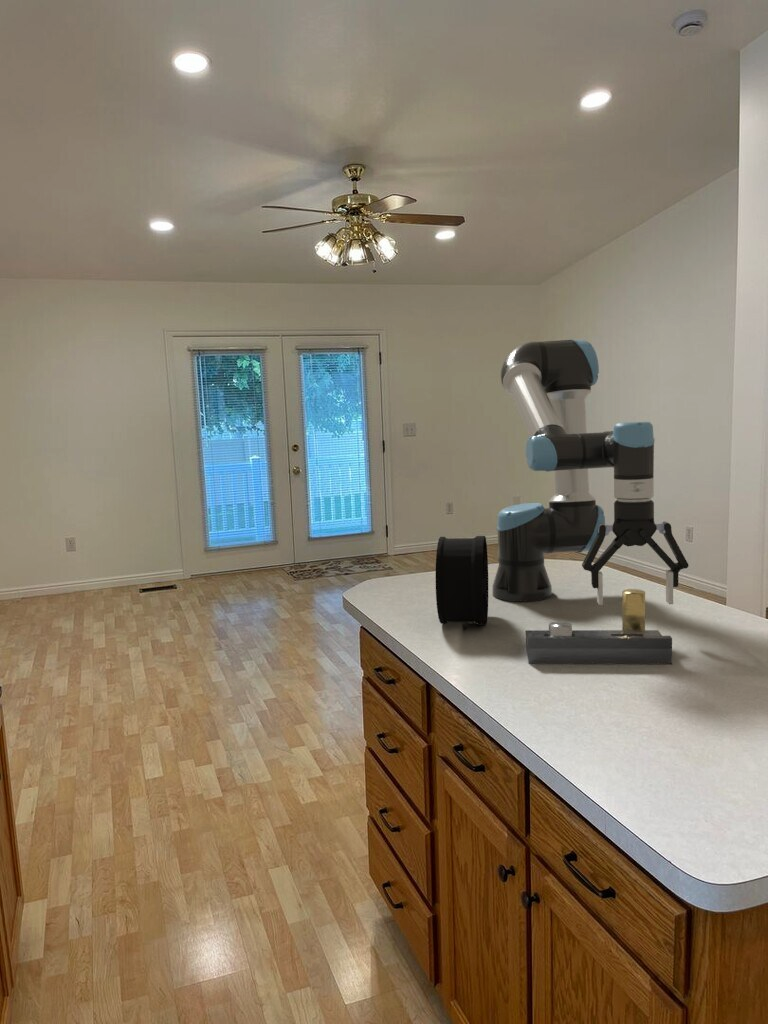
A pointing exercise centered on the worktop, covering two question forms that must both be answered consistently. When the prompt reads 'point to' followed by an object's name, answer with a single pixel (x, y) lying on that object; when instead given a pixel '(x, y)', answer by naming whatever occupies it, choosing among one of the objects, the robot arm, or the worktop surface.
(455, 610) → the car wheel rim
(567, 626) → the silver metal cylinder
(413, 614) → the worktop surface
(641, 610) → the gold metal cylinder
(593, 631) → the jig
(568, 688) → the worktop surface
